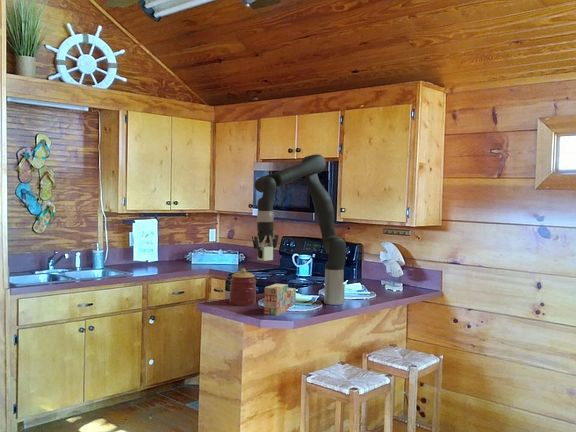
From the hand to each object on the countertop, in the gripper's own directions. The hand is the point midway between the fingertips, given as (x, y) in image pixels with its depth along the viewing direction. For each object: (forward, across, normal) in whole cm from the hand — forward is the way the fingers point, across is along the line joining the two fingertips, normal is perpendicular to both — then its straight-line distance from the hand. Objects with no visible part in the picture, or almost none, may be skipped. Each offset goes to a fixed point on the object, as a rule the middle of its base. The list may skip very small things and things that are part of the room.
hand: (265, 257), depth 253 cm
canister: (+24, 0, -18) cm, 30 cm away
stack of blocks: (+25, -6, +4) cm, 26 cm away
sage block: (+1, 0, 0) cm, 1 cm away
